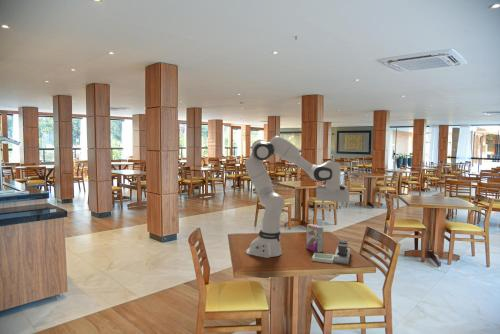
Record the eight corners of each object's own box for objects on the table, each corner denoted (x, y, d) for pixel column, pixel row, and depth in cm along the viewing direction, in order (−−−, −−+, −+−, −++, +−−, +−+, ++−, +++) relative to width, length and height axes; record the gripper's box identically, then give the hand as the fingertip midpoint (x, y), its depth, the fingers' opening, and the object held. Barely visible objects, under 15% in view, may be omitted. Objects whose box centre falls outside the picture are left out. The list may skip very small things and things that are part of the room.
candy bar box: (305, 248, 226) (306, 224, 225) (311, 247, 229) (311, 223, 228) (317, 253, 217) (317, 228, 216) (322, 252, 219) (323, 227, 218)
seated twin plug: (338, 255, 210) (338, 242, 209) (339, 252, 214) (339, 240, 214) (346, 255, 208) (347, 243, 208) (347, 253, 213) (347, 240, 212)
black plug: (337, 259, 202) (338, 245, 202) (338, 256, 207) (338, 243, 206) (346, 260, 200) (346, 246, 200) (346, 257, 205) (347, 244, 204)
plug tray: (312, 261, 201) (312, 257, 201) (314, 256, 211) (314, 252, 211) (332, 264, 198) (333, 260, 197) (334, 258, 207) (334, 254, 207)
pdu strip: (334, 263, 199) (334, 255, 199) (337, 253, 218) (337, 245, 218) (348, 265, 196) (348, 257, 196) (350, 254, 216) (350, 247, 215)
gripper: (315, 186, 214) (314, 207, 215) (349, 187, 207) (348, 210, 208) (316, 185, 220) (316, 206, 221) (349, 186, 213) (349, 208, 214)
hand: (332, 208), depth 215 cm, fingers open, 8 cm apart
